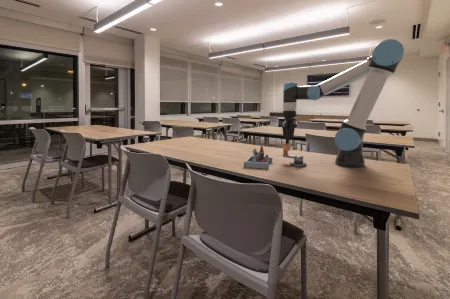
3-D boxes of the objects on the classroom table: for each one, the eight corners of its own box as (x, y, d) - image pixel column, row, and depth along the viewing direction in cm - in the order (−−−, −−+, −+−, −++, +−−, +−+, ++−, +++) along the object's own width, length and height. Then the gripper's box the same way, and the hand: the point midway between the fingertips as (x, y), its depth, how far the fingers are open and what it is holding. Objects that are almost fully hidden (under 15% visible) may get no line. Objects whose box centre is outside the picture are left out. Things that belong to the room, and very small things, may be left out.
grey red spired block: (270, 163, 138) (258, 145, 139) (255, 173, 143) (242, 155, 144) (274, 159, 149) (263, 142, 150) (260, 168, 153) (248, 152, 154)
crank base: (306, 163, 147) (306, 161, 147) (306, 167, 138) (306, 165, 138) (290, 162, 150) (290, 160, 149) (289, 166, 141) (289, 164, 141)
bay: (272, 162, 151) (272, 157, 150) (268, 168, 136) (268, 163, 135) (250, 160, 155) (250, 156, 154) (244, 167, 140) (244, 161, 139)
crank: (304, 162, 144) (305, 145, 142) (300, 164, 140) (301, 146, 139) (285, 159, 153) (285, 142, 151) (280, 161, 149) (281, 143, 147)
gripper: (289, 109, 153) (287, 148, 158) (277, 110, 144) (276, 151, 149) (300, 110, 148) (298, 149, 153) (289, 110, 139) (287, 152, 143)
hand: (287, 150), depth 151 cm, fingers closed
